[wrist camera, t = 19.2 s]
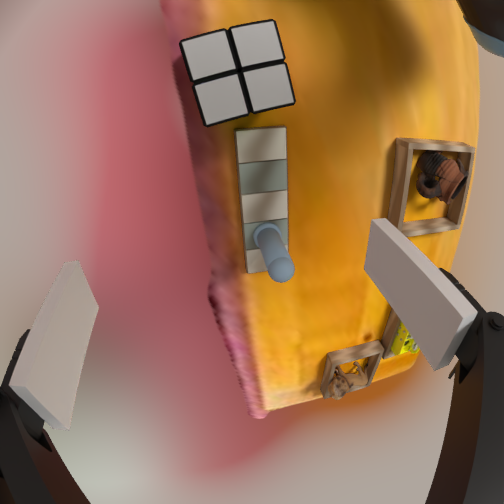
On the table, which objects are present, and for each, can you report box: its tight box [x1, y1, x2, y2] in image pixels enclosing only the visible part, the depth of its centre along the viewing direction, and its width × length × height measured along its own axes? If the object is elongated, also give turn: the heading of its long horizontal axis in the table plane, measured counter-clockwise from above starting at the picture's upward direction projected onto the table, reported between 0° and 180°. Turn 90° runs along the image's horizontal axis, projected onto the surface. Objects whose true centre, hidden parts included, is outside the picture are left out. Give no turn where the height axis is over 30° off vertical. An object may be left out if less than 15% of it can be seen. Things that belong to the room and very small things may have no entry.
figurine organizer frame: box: [320, 340, 384, 399], centre depth 72 cm, size 14×17×4 cm
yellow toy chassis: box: [391, 321, 419, 355], centre depth 63 cm, size 16×6×8 cm, turn 4°
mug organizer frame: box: [387, 138, 475, 237], centre depth 46 cm, size 17×17×4 cm
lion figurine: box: [328, 362, 368, 400], centre depth 70 cm, size 15×5×9 cm, turn 85°
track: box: [234, 126, 288, 274], centre depth 44 cm, size 7×23×2 cm, turn 3°
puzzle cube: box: [179, 19, 296, 127], centre depth 30 cm, size 10×10×10 cm
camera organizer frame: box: [381, 308, 418, 359], centre depth 65 cm, size 12×22×4 cm, turn 3°
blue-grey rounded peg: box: [253, 222, 295, 283], centre depth 42 cm, size 4×4×11 cm
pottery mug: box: [416, 150, 469, 205], centre depth 45 cm, size 12×10×8 cm
